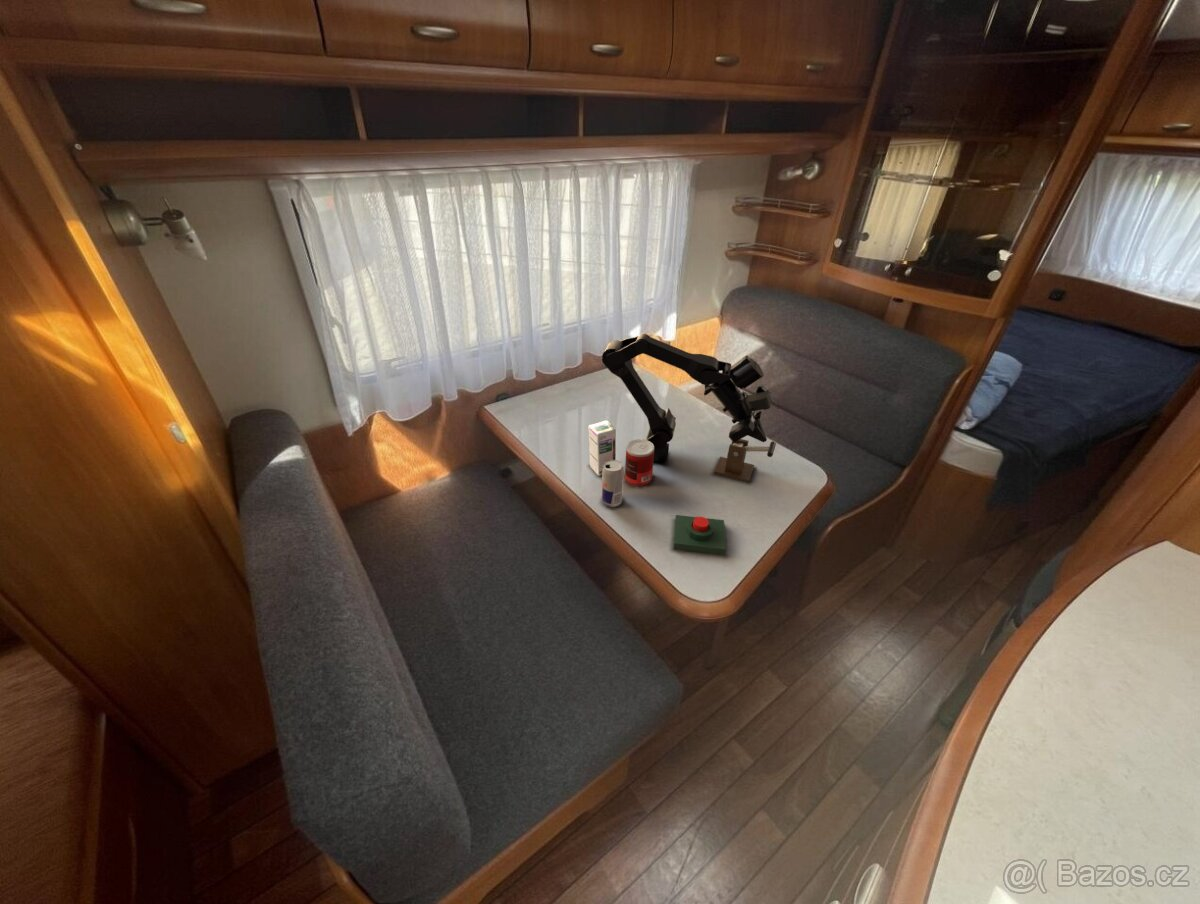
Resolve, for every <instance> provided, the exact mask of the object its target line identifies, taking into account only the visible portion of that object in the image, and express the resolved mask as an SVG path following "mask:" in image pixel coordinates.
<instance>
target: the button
mask: <svg viewBox="0 0 1200 904" xmlns="http://www.w3.org/2000/svg"><path fill="white" fill-rule="evenodd" d="M695 517H696V518H695V519H694V521H693V528H694V529H695V530H696V531H698V532H705V531H707V530H708V525H709V521H708V520H707V519H706V518H707V517H705V518H704V516H695Z"/></svg>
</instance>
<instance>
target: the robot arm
mask: <svg viewBox="0 0 1200 904" xmlns="http://www.w3.org/2000/svg"><path fill="white" fill-rule="evenodd" d="M641 355H646V356H648V357H650V358H653V359H655V360H657V361H660V362H663V363H665V364H668V365H670V366H673V367H674V368H677V369H680V370H682V371H683V372H685V373H686V374H687V375H688V376H689V377H690V378H691V379H693V380H695V381H696V382H697V383H699V384H701V385H702V386H704V391H703V395H704V396H707V395H709V394H710V393H712V394H713V395H714V396H715V397H716V399H717V401H719V402H720V404H721V405H722V409H721V410H722V411H723V412H724V413H725V412H727V413H728V414H729V415H730V416H731V417H732V419H731V423H733V424H734V425H732V426H731V427H730V430H729V433H728V438H729V439H730V441H731V443H732V442H736V441H738V440H739V439H743V438H745V437H747V436H748V437H750V438H753V439H754V440H756V441H759V442H760V443H765V442H767V439H768V438H767V436H766V433H765V430H764V428H763V425H762V423H761V416H762V411H763V410H764V411H767V410H769V409H770V408H771V405H772V403H773V401H772V397H771V394H772V393H771V391H770V390H769V389H767V388H766V387H765V386H764V385H760V386H758V385H757V387H756V390H755V391H754V392H752V394H748V393H747V392H746V391H744V390H742V389H746V388H748V387H749V386H751V385H753V384H754V383H756V382H757V381H758V380H760V379H762V378H763V377H764V376H765V375H764V371H763V369H762V368H761V366H760V365H759V364H758V362H757V361H756V360H754V359H753V358H752V357H750V356H749V355H744V357H742V358H741V359H740V360H739V361H737V362H736V363H735V364H733V365H732V363H731V362H727V361H722V360H719V359H717V358H716V357H715V356H712V355H707V354H702V353H691V352H689V351H685V350H683V349H680V348H678V347H676V346H673V345H671V344H668V343H666V342H664V341H661V340H659V339H656V338H654V337H652V336H650V335H649V334H647V333H641V334H638V335H636V336H631V337H627V338H624V339H622V340H619V339H618V340H617V339H616V340H612V341H610V342H609V343H608V344H607V346H606V347H605V349H604V351H603V353H602V355H601V362H602V364H603V365H604V366H605V368H606V369H607V370H608V371H609V372H610V373H611V374H613V375H615V376H616V377H618V378H619V379H620V380H621V381H622V383H623V384H624V386H625V387H626V389H627V390H628V392H629V393H630V395H631V396H632V398H633V399H634V401H635V402H636V404H637V405H638V407H639V408H640V409H641V412H643V414H644V415H645V417H646V419H647V423H648V426H649V428H648V431H647V434H646V437H645V440H648V441H650V442H651V443H653V445H654V461H653V464H657V465H666V464H667V460H668V459H669V451H670V450H669V449H670V443H669V442H671V441H672V440H673V439H674V434H675V430H676V425H677V422H676V419H677V417H676V416H674V414H672V410H671V409H670V408H668V407H667V408H666V409H663V408H662V407H660V406H659V404H658V402H657V401H656V399H655V398H654V396H653V395H652V393H651V391H650V390H649V389H648V387H647V385H646V384H645V383H644V381H643V379H642V378H641V377H640V375H639V374H638V372H637V371H636V369H635V367H634V363H633V359H634V358H636V357H638V356H641ZM740 390H742V391H740ZM757 411H758V412H757Z"/></svg>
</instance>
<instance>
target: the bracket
mask: <svg viewBox="0 0 1200 904" xmlns="http://www.w3.org/2000/svg"><path fill="white" fill-rule="evenodd" d="M749 442H750V441H749V440H748V439H743V438H741V439H739V440H738V441H736V442H732V441H731V444H729V446H728V451H727V457H724V456H719V459H718V461H717V463H716V466H715V468H714V469H713V475H717V476H720V477H724V478H727V479H732V480H736V481H738V482H739V481H740V482H744V483H750V480H751V477H752V473H753V471H754V467H755V464H753V463H748V462H745V461H746V456H747V451H746V448H744V447H739V446H735V445H733V443H743V444H744V446H748V445H749Z"/></svg>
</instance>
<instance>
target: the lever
mask: <svg viewBox="0 0 1200 904" xmlns="http://www.w3.org/2000/svg"><path fill="white" fill-rule="evenodd" d="M733 445H735V446H739V447H744V448H746V452H767V453H766V456H767V457H768V458H772V457H773V456H774V452H775V450H776V449H775V448H776V445H777V442H775V441H771V442H770V443H769V446H759V445H757V446H755V445H753V446H752V445H751V446H750V445H749V446H744V444H743V443H733Z"/></svg>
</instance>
